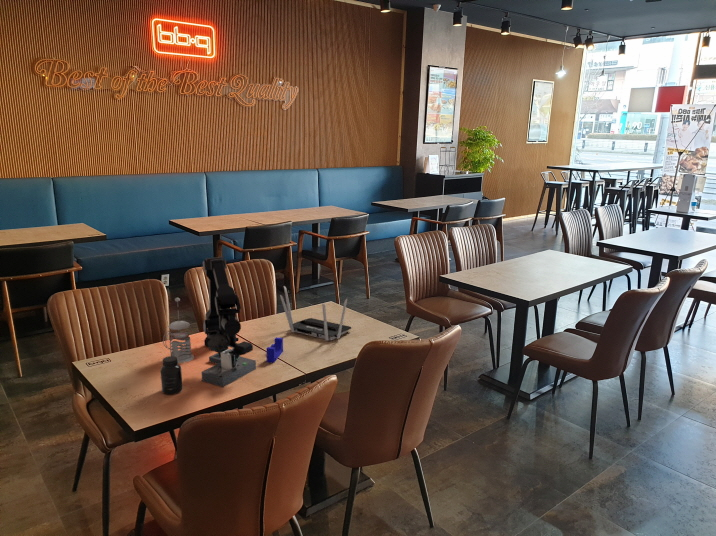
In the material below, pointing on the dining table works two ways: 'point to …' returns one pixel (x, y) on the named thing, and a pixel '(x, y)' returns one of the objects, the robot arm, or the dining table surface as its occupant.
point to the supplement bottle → (171, 376)
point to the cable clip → (275, 350)
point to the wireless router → (316, 323)
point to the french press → (185, 352)
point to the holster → (215, 358)
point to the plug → (226, 360)
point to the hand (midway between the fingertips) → (229, 365)
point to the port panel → (228, 372)
